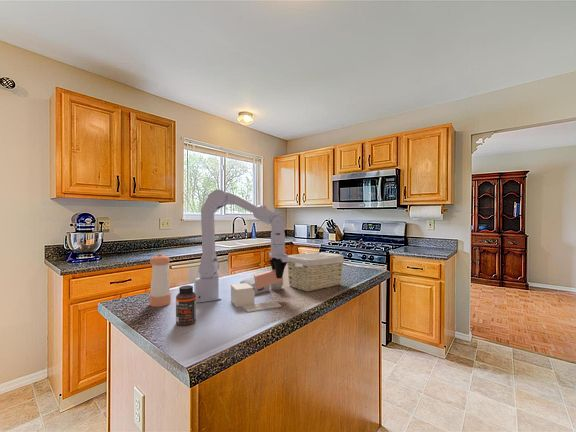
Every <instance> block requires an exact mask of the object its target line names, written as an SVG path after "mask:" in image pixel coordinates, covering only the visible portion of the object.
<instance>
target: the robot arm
mask: <svg viewBox="0 0 576 432" xmlns="http://www.w3.org/2000/svg"><path fill="white" fill-rule="evenodd" d="M227 205H233V206H234V205H235V206H237V207H239V208H241V209H244V210H246V211H248V212H250V213H252V215H253V218H254V219H257V220H258V221H261V222H262V223H265V224H267V225H270V226H271V232H270V252H269V253H268V258H271V259H268V263H269V264H270V266H271V270H273V269H276V276H277V278H282V277H283V275H284V272H285V268H286V266H287V262H288V257H287V256H288V254H287V253H286V234H285V231H286V229H285V225H286V220H285V219H286V218H285V217H284V216H283V215H281V214H280V213H277V211H276V210H275V211H273V210H271V209H269V208H267V205H264V204H263V205H261V204H259V205H254V204H253V203H251V202H249V201H247V200H245V199H243V198H241V197H240V196H238V195H236V194H233V193H231V192H227V191H224V190H222V189H220V188H218V189H214V190H213V191H211V192H210V193H208V194H207V197H206V199H205V201H204V203H203V204H202V207H201V209H200V219H201V220H200V221H201V224H200V225H201V246H202V248H201V249H202V250H201V251H202V255H201V257H200V264H199V266H198V273H199V276H198V277H195V278H194V280H193V285H194V286H193V292H194V293H195V294H196V304H197V303H206V302H215V301H220V300H222V297H221V296H220V293H219V291H220V290H219V286H220V285H219V282H220V281H219V279H220V277H219V273H218V272H217V271H219V268H220V263H219V261H218V257H217V256H218V255H217V253H216V238H215V237H216V233H215V214H216V212H218V211H219V210H220V209H221V208H223V207H225V206H227Z"/></svg>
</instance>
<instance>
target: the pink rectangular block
mask: <svg viewBox="0 0 576 432" xmlns="http://www.w3.org/2000/svg"><path fill="white" fill-rule="evenodd" d="M253 278H254V280H255V285H256V288H258V289H259V288H262V287H265V286H268V285H269V286H271V285H272V284H275V283H278V282H281V281H283V282H284V278H283V276H282V278H277V276H276V269H273V270H272V269H270V270H266V271H263V272H260V273H256V274H253Z"/></svg>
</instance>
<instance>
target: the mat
mask: <svg viewBox="0 0 576 432" xmlns="http://www.w3.org/2000/svg"><path fill="white" fill-rule="evenodd" d="M241 307H242V308H243V310H245V312H246V313H252V312H258V311H264V310H271V309H275V308H276V309H277V308H281V307H282V305H281V304H280V303H278V302H277V301H276V300H272V301H266V302H260V303H255V304H253V305H246V306H241Z"/></svg>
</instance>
